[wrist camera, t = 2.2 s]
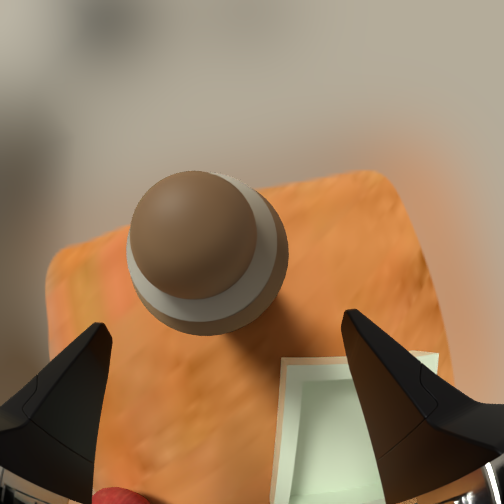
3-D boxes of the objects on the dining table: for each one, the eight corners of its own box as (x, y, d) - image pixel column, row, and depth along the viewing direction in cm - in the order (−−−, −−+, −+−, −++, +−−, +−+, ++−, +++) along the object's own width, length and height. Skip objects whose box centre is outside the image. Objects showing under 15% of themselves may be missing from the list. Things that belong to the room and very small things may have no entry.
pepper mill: (267, 327, 19) (305, 353, 4) (199, 323, 19) (59, 323, 4) (269, 261, 20) (302, 116, 5) (204, 258, 20) (104, 124, 6)
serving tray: (390, 481, 15) (407, 498, 11) (269, 497, 15) (271, 521, 12) (414, 350, 18) (438, 353, 15) (281, 357, 18) (287, 365, 15)
